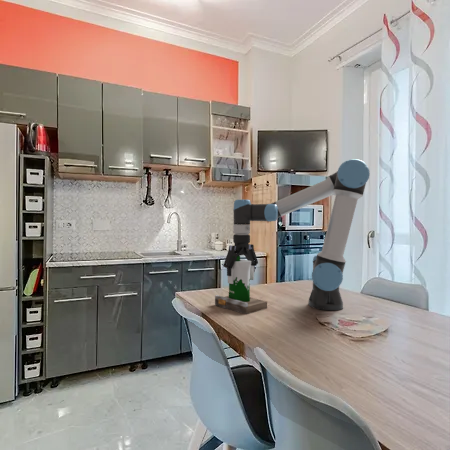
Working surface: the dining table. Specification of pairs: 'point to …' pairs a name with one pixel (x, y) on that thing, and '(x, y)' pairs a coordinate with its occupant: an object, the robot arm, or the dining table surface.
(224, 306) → the brown flat box
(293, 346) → the dining table surface
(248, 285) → the soya milk
